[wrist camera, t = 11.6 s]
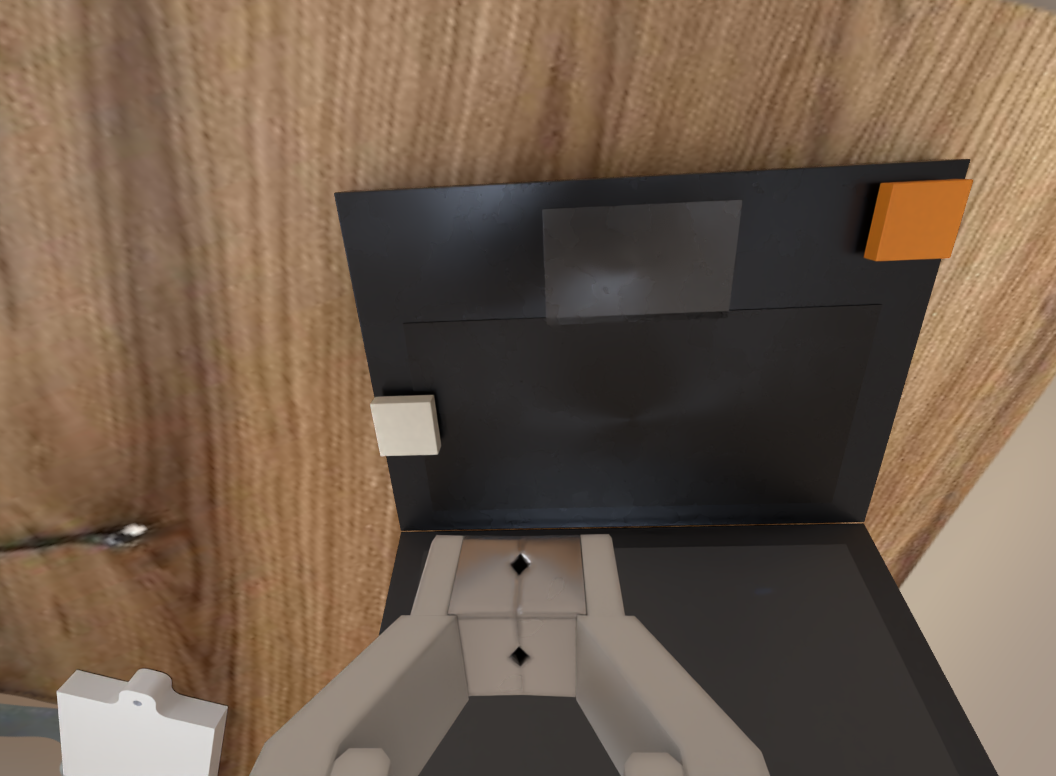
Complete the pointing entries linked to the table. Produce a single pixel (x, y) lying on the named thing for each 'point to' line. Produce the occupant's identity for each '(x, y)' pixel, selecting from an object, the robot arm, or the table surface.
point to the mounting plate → (137, 727)
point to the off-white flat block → (406, 425)
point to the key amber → (917, 219)
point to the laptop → (640, 343)
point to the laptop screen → (741, 657)
